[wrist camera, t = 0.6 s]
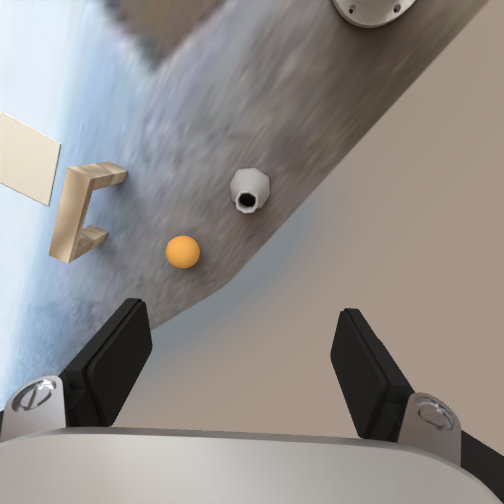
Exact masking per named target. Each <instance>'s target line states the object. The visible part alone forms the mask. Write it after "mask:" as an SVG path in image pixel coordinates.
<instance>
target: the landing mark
mask: <svg viewBox="0 0 504 504" xmlns="http://www.w3.org/2000/svg"><path fill="white" fill-rule="evenodd" d="M60 146H61V143H59V142H57V141H55V140H53V139H51V138H50V137H48V136H46V135H44V134H42V133H40V132H39V131H37V130H35V129H33V128H31V127H29V126H28V125H26V124H24V123H22V122H20V121H18V120H17V119H15V118H13V117H11V116H9V115H7V114H6V113H4V112H2V111H0V182H1V183H3V184H5V185H7V186H9V187H11V188H13V189H15V190H17V191H19V192H21V193H23V194H25V195H27V196H29V197H31V198H33V199H35V200H37V201H39V202H41V203H43V204H45V205H47V206H49V203H50V198H51V192H52V187H53V182H54V177H55V172H56V167H57V162H58V156H59V151H60Z"/></svg>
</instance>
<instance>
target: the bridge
mask: <svg viewBox="0 0 504 504" xmlns="http://www.w3.org/2000/svg"><path fill="white" fill-rule="evenodd" d="M127 172H128V171H127V170H125V169H123V168H121V167H120V166H118V165H116V164H114V163H112V162H104V163H96V164H88V165H80V166H72V167H67V171H66V176H65V181H64V185H63V190H62V195H61V199H60V204H59V209H58V213H57V218H56V223H55V227H54V232H53V237H52V241H51V246H50V251H49V255H50V256H52V257H54V258H56V259H58V260H61V261H63V262H65V263H67V264H69V263H70V262H72V261H73V260H75V259H77V258H78V257H80V256H81V255H83V254H84V253H86V252H88V251H89V250H91V249H92V248H94V247H96V246H97V245H99V244H100V243H102V242H104V241H105V240H106V237H107V234H108V232H106V231H104V230H102V229H100V228H98V227H96V226H94V225H91V226H89V227H87V228H85V229H82V227H83V224H84V220H85V216H86V213H87V209H88V205H89V202H90V198H91V194H92V191H93V190H96V189H100V188H103V187H107V186H110V185H114V184H117V183H121V182H124V181H125V178H126V175H127Z"/></svg>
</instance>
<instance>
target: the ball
mask: <svg viewBox="0 0 504 504" xmlns="http://www.w3.org/2000/svg"><path fill="white" fill-rule="evenodd" d="M166 256H167V259H168V261H169V262H170V263H171V264H172V265H173V266H175V267H178V268H189V267H191V266H193V265H194V264H195V263H196V262H197V261H198V259H199V256H200V248H199V245H198V243H197V242H196V241H195V240H194V239H193V238H191V237H188V236H178V237H175V238H173V239H172V240H171V241H170V242H169V243H168V245H167V248H166Z"/></svg>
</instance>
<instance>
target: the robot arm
mask: <svg viewBox="0 0 504 504" xmlns="http://www.w3.org/2000/svg"><path fill="white" fill-rule="evenodd" d="M414 2H415V0H333V3H334V5H335V7H336V9H337V10H338V12H339V13H340V14H341V16H342V17H344V18H345V19H346V20H347V21H348V22H350V23H351V24H353V25H355V26H358V27H362V28H376V27H380V26H383V25H385V24H387V23H390V22H392V21H393V20H395V19H396V18H397V17H399V16H400V15H402V14H403V13H404V12H405V11H406V10H407V9H408V8H409V7H410V6H411V5H412V4H413V3H414ZM393 10H395V13H394V11H393ZM349 11H352V14H350V12H349ZM151 350H152V339H151V333H150V327H149V320H148V314H147V308H146V303H145V302H142V300H141V299H137V298H128V299H126V300H125V301H124V303H123V304H122V305H121V306H120V307H119V308H118V309H117V310H116V312H115V313H114V314H113V315H112V316H111V317H110V318H109V319H108V321H107V322H106V323H105V324H104V325H103V326H102V327H101V328H100V330H99V331H98V332H97V333H96V334H95V335H94V336H93V338H92V339H91V340H90V341H89V342H88V343H87V344H86V345H85V347H84V348H83V349H82V350H81V351H80V352H79V353H78V354H77V356H76V357H75V358H74V359H73V360H72V361H71V362H70V363H69V365H68V366H67V367H66V368H65V369H64V370H63V371H62V372H61V374H60V375H59V376H58V377H57V376H44V377H41V378H38V379H35V380H33V381H31V382H29V383H27V384H25V385H24V386H22V387H21V388H19V389H18V390H17V391H16V392H15V393H14V394H13V395H12V396H11V397H10V398H9V400H8V401H7V403H6V406H5V409H4V410H3V411H1V412H0V504H504V456H502V455H501V454H499V453H498V452H496V451H494V450H493V449H491V448H490V447H488V446H486V445H485V444H483V443H482V442H480V441H478V440H477V439H475V438H473V437H472V436H470V435H469V434H467V433H466V432H464V431H463V430H461V424H460V421H459V420H458V418H457V416H456V414H454V412H453V411H452V410H451V409H450V408H449V407H448V406H447V405H446V404H445V403H444V402H442V401H440V400H439V399H437V398H436V397H434V396H431V395H429V394H425V393H415V391H414V390H413V388H412V387H411V385H410V384H409V382H408V381H407V379H406V378H405V377H404V375H403V373H402V372H401V370H400V369H399V367H398V366H397V364H396V363H395V361H394V360H393V358H392V357H391V355H390V354H389V352H388V351H387V349H386V348H385V346H384V345H383V343H382V342H381V341H380V340H379V339H378V338H377V336H376V335H375V333H374V332H373V330H372V329H371V327H370V326H369V324H368V323H367V321H366V320H365V318H364V317H363V315H362V314H361V312H360V311H359V309H351V308H346V309H344V311H341V312H340V315H339V319H338V323H337V328H336V332H335V336H334V340H333V345H332V349H331V362H332V364H333V367H334V370H335V373H336V375H337V378H338V381H339V384H340V387H341V389H342V392H343V395H344V397H345V400H346V403H347V406H348V409H349V412H350V414H351V417H352V420H353V422H354V425H355V428H356V431H357V433H358V436H359V437H360V438H363V439H356V438H340V437H325V436H307V435H287V434H268V433H246V432H224V431H202V430H178V429H151V428H124V427H110V426H111V425H113V423H114V422H115V420H116V418H117V416H118V414H119V412H120V410H121V408H122V406H123V404H124V402H125V401H126V399H127V397H128V395H129V393H130V391H131V389H132V387H133V386H134V384H135V382H136V380H137V378H138V376H139V374H140V372H141V370H142V369H143V367H144V365H145V363H146V361H147V359H148V357H149V355H150V353H151ZM108 426H109V427H108Z"/></svg>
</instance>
